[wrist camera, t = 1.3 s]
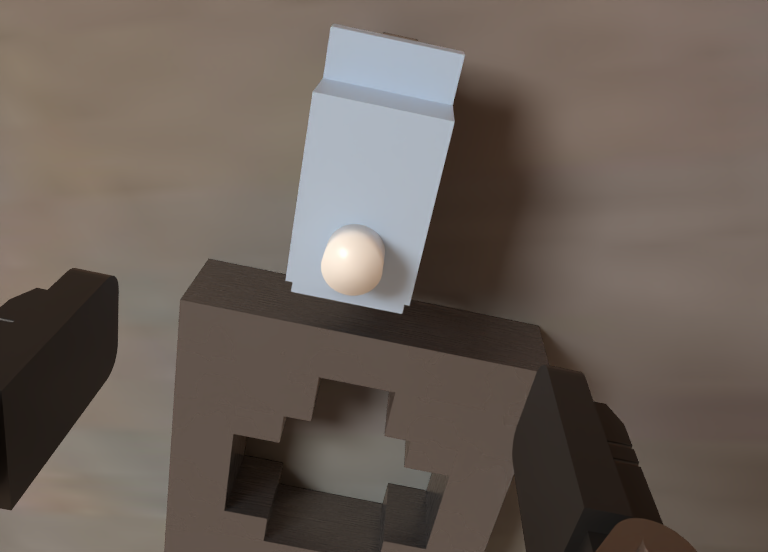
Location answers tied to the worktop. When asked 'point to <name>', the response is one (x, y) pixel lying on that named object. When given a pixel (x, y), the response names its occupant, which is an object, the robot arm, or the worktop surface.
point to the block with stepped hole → (297, 400)
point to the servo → (372, 167)
